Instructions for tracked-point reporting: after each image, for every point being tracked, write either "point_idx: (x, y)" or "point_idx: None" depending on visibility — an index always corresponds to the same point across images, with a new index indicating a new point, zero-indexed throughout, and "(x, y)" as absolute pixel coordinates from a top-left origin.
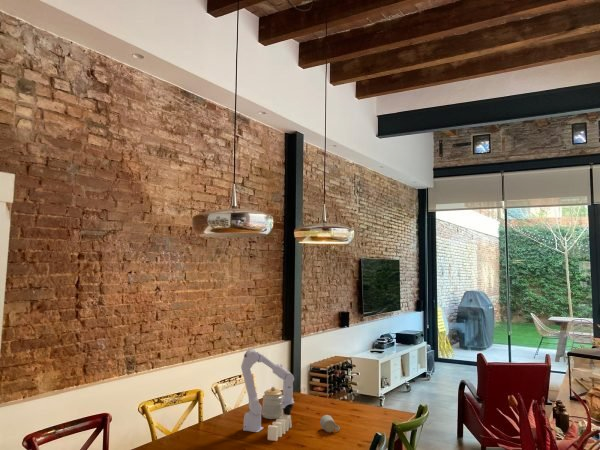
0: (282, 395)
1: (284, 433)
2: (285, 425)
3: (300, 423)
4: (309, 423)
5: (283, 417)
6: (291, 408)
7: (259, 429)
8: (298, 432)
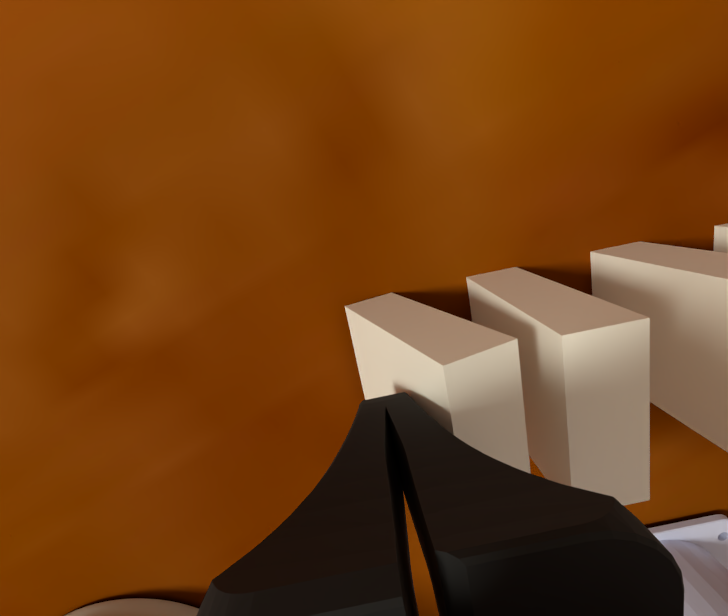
0: None
1: (626, 244)
2: (674, 267)
3: (120, 283)
4: (10, 158)
5: (634, 423)
6: (332, 515)
7: (672, 543)
8: (486, 88)
